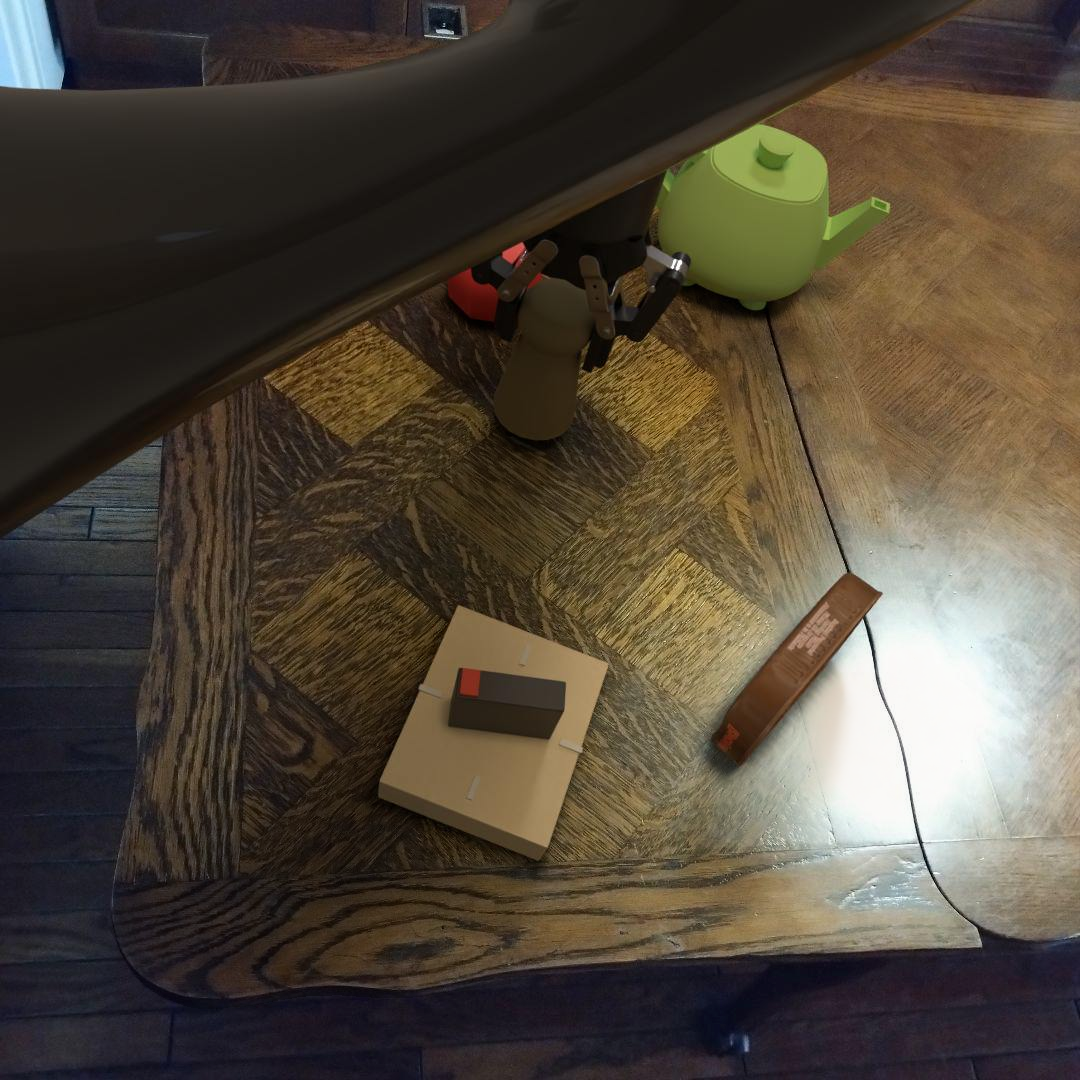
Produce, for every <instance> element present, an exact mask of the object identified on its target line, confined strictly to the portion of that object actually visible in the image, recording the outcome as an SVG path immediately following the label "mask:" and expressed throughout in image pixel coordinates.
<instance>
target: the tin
mask: <svg viewBox="0 0 1080 1080" xmlns="http://www.w3.org/2000/svg"><path fill="white" fill-rule="evenodd" d="M883 595H884V593H883V591H879V590H878V589H876V588H875V587H873V586H872V585H871V584H869V583H868V582H866V581H865V580H864V579H862V578H861V577H859V576H857V574H855V573H853V572H846V573H844V574H842V576H841V577H839V578H838V579H837V581H835V582H834V584H833V585H832V586H831V587H830V588H828V590H827V591H826V593H825V594H824V595H822V597H821V598H820V599H819V600H818V601H817V602H816V604H815V605H814V606H813V607H812V608H811V609H810V610H809V611H808V612H807V614H805V616H804V617H803V618H802V619H801V620H800V621H799V623H797V625H796V626H795V627H794V628H793V629H792V630H791V631H790V633H789V634H788V635H787V636H786V638H785V639H783V641H782V642H781V643H780V644H779V646H778V647H777V648H776V649H775V651H773V653H772V654H771V655H770V656H769V658H768V659H766V661H764V663H763V664H762V666H761V667H760V668H759V669H758V670H757V672H756V673H755V674H754V675H753V676H752V678H751V679H750V680H749V681H748V683H747V684H746V685H745V686H744V688H743V689H742V690H741V691H740V693H739V694H738V696H737V697H736V698H735V699H734V700H733V702H732V703H731V704H730V707H729V708H728V709H727V711H726V713H725V714H724V716H723V719H722V722H721V724H720V725H719V727H718V728H717V729H716V730H715V731H713V733H712V734H711V735H710V741H711V742H712V743H713V745H715V746H716V748H717V749H719V750H720V751H721V752H722V753H724V755H726V756H727V757H728V758H729V759H731V760H732V761H733V762H734V763H735V764H736V767H738V768H741V767H742V766H743V765H744V764H746V763H747V761H748V760H749V759H750V758H751V757H752V756H753V754H754V753H755V752H756V750H757V749H758V748H759V746H761V744H762V743H763V742H764V741H765V740H766V739H767V737H768V736H769V735H770V734H771V732H773V730H774V729H775V728H776V727H777V725H778V724H779V723H780V722H781V721H782V719H783V718H784V717H785V716H786V714H787V713H788V712H789V711H790V710H791V709H792V707H793V706H794V705H795V704H796V702H797V701H798V700H799V699H800V698H801V696H802V695H804V693H806V691H807V689H808V688H809V687H810V686H811V685H812V683H813V682H814V681H815V680H816V679H817V677H819V675H820V674H821V673H822V671H823V670H824V669H825V668H826V667H827V665H828V664H829V662H830V661H831V660H832V659H833V657H835V655H836V654H837V653H838V651H840V649H841V648H842V647H843V645H844V644H845V643H846V641H847V640H848V639H849V637H850V636H851V635H852V634H853V632H854V631H855V630H856V629H857V627H858V626H859V625H860V624H861V622H862V621H863V619H864V618H865V617H866V616H867V614H868V613H870V611H871V610H872V609H873V607H874V606H875V604H876V603H877V602H878V601H879V599H881V597H882V596H883Z"/></svg>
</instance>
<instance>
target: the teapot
mask: <svg viewBox="0 0 1080 1080" xmlns="http://www.w3.org/2000/svg"><path fill="white" fill-rule="evenodd" d="M829 192H830V188H829V172H828V165H827V160H826V159H825V157H824V156H823V154H822V153H821V152H820V151H819V150H818V149H817V148H815V146H813V145H811V144H810V143H809V142H807V141H806V140H803V139H802V138H799V137H797V136H796V135H793V134H792V133H789V132H787V131H784V130H781V129H779V128H776V127H773V126H769V125H765V124H761V123H759V124H757V125H755V126H754V127H752V128H750V129H748V130H746V131H744V132H742V133H740V134H738V135H736V136H734V137H732V138H730V139H728V140H726V141H724V142H722V143H720V144H718V145H716V146H714V147H712V148H710V149H708V150H706V151H704V152H702V153H700V154H698V155H696V156H694V157H692V158H690V159H688V160H686V161H684V164H683V165H682V166H681V168H680V169H679V171H678V172H677V174H676V175H673V173H672V172H671V170H670V169H668V170H667V173H666V176H665V178H664V182H663V185H662V188H661V191H660V194H659V197H658V200H657V203H656V206H655V208H657V209H658V211H659V212H658V218H657V238H658V243H659V246H660V248H661V251H662V252H664V253H666V254H667V255H669V256H671V257H672V255H673V254H674V253H676V252H684V253H686V254H688V255H689V256H690V258H691V264H690V267H689V269H688V272H687V275H686V277H685V280H684V283H683V285H682V286H684V287H690V286H694V285H695V284H697V285H698V286H700V287H702V288H704V289H706V290H708V291H711V292H713V293H716V294H719V295H722V296H724V297H729V298H732V299H737V300H738V302H739V304H741V305H742V306H743V307H744V308H746V309H748V310H751V311H760V310H763V309H764V308H765V307H766V305H767V302H771V301H773V302H774V301H777V300H779V299H783V298H785V297H788V296H790V295H792V294H794V293H796V292H797V291H799V290H800V289H801V288H802V287H804V285H805V284H806V283H807V282H808V280H809V278H810V277H811V275H812V273H813V271H814V269H816V270H822V269H823V268H824V267H826V266H827V265H828V264H829V263H831V262H832V261H833V260H835V259H836V258H837V257H838V256H840V255H841V254H842V253H843V252H845V251H846V250H847V249H849V248H850V247H851V246H852V245H854V244H855V243H856V242H857V241H858V240H859V239H861V238H862V237H863V236H864V235H866V234H867V233H868V232H869V231H871V230H872V229H873V228H874V227H876V226H877V225H878V224H879V223H882V221H883V220H885V219H886V218H887V217H888V216H889V215H890V210H891V209H890V208H891V203H890V202H887V201H885V200H882V199H881V198H877V197H875V196H872V195H871V197H870V198H869V199H867V200H865V201H863V202H860V203H858V204H856V205H854V206H853V207H850V208H848V209H846V210H843V211H842V212H839V213H838V214H835V215H833V216H829V210H830V209H829V208H830V207H829V206H830V193H829Z"/></svg>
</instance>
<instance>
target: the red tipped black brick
mask: <svg viewBox="0 0 1080 1080" xmlns="http://www.w3.org/2000/svg"><path fill="white" fill-rule="evenodd" d="M565 693H566V682H564V681H557V680H549V679H542V678H534V677H527V676H520V675H512V674H505V673H497V672H490V671H483V670H475V669H468V668H459V669H458V673H457V677H456V681H455V685H454V689H453V693H452V698H451V704H450V712H449V720H448V726H449V727H457V728H465V729H473V730H481V731H488V732H496V733H504V734H512V735H520V736H527V737H535V738H543V739H550V738H551V736H552V734H553V732H554V730H555V728H556V726H557V724H558V722H559V720H560V718H561V716H562V714H563V712H564V710H565Z"/></svg>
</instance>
